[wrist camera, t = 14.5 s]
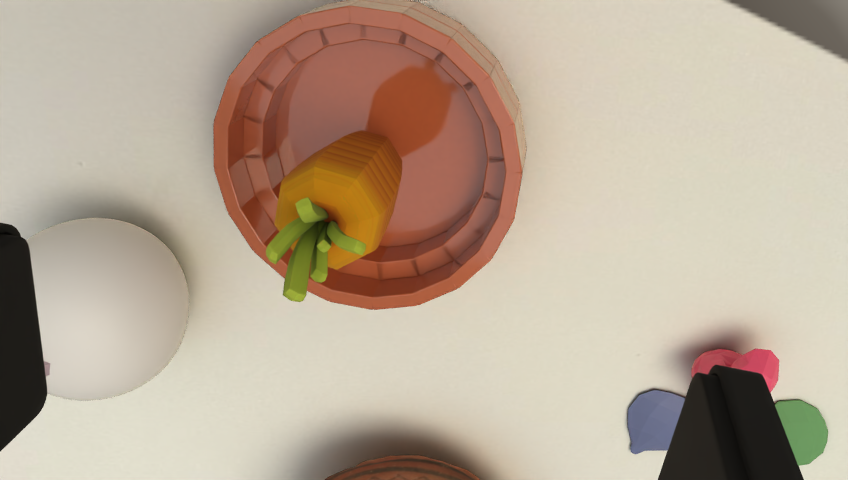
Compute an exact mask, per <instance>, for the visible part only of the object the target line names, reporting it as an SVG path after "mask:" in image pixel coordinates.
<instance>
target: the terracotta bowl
mask: <svg viewBox="0 0 848 480" xmlns="http://www.w3.org/2000/svg"><path fill="white" fill-rule="evenodd" d="M361 130H363V131H367V132H371V133H374V134H378V135H381V136H385V137H388V138H389V140H390V141H391V143H392V144H393V146H394V148H395V149H396V151H397V153H398V154H399V156H400V158H401V159H402V176H401V182H400V186H399V190H398V194H397V198H396V203H395V207H394V211H393V214H392V217H391V219H390V222H389V224H388V227H387V229H386V231H385V233H384V235H383V238H382V240H381V242H380V244H379V246H378V248H377V249H376V250H375V251H373V252H371V253H369V254H367V255H365V256H363V257H361V258H359V259H357V260H355V261H353V262H351V263H349V264H347V265H345V266H343V267H341V268H339V269H333V268H330V267H328V275H327V277H326V280H325V281H324V282H322V283H321V282H315V281H314V280H313V279H312V278H311V277H310V271H311V262H310V270H309V279H308V285H307V291H309V292H311V293H313V294H315V295H317V296H319V297H321V298H323V299H325V300H327V301H330V302H334V303H339V304H344V305H350V306H355V307H360V308H366V309H371V310H373V309H374V310H377V309H388V308H398V307H408V306H416V305H420V304H422V303H425V302H427V301H430V300H432V299H434V298H437V297H439V296H441V295H444V294H446V293H449V292H451V291H453V290H456V289H457V288H460V287H461V286H462V285H463V284H464V283H465V282H466V281H468V280H469V279H470V278H471V277H472V276H473V275H474V274H476V273H477V272H478V271H479V270H480V269H481V268H482V267H484V266H485V265H486V264H487V263H488V262H489V261H490V260H491V259H492V258H493V256H494V254H495V253H496V251H497V249H498V247H499V246H500V244H501V242H502V240H503V239H504V237H505V235H506V233H507V231H508V230H509V228H510V226H511V224H512V223H513V221H514V218H515V212H516V207H517V201H518V195H519V190H520V184H521V179H522V173H523V167H524V161H525V155H526V141H525V134H524V128H523V121H522V115H521V108H520V103H519V100H518V98H517V96H516V94H515V92H514V90H513V88H512V86H511V84H510V83H509V81H508V79H507V77H506V75H505V73H504V71H503V69H502V67H501V65H500V63H499V61H498V60H497V59H496V57H495V56H494V55H493V54H492V53H491V52H490V51H489V50H488V49H487V48H486V47H485V46H484V45H483V44H482V43H481V42H480V41H479V40H478V39H477V38H476V37H475V36H474V35H473V34H472V33H471V32H470V31H469V30H468V29H467V28H466V27H465V26H463V25H462V24H461V23H459V22H457V21H455V20H453V19H451V18H449V17H447V16H445V15H443V14H441V13H439V12H437V11H435V10H433V9H431V8H429V7H427V6H425V5H423V4H421V3H418V2H413V1H406V0H345V1H340V2H335V3H330V4H325V5H323V6H321V7H318V8H316V9H313V10H311V11H309V12H306V13H304V14H301V15H299V16H297V17H295V18H294V19H292V20H290V21H289V22H287V23H286V24H284V25H282V26H281V27H279V28H277V29H276V30H274V31H272V32H271V33H269V34H267V35H266V36H264V37H263V38H261V39H259V41H257V42H256V43H255V44H254V45H253V47H252V48H251V49H250V51H249V52H248V53H247V54H246V56H245V57H244V58H243V59H242V61H241V62H240V63H239V65H238V66H237V67H236V68H235V70H234V71H233V72H232V73H231V75H230V76H229V78H228V80H227V83H226V86H225V89H224V92H223V95H222V98H221V101H220V104H219V107H218V110H217V113H216V116H215V119H214V171H215V174H216V177H217V180H218V183H219V186H220V190H221V193H222V196H223V199H224V202H225V205H226V209H227V211H228V214H229V215H230V217H231V218H232V220H233V221H234V223H235V224H236V226H237V227H238V229H239V230H240V232H241V233H242V235H243V236H244V238H245V239H246V241H247V242H248V244H249V245H250V247H251V248H252V250H253V251H254V252H255V253H256V254H257V255H258V256H259V257H261V258H262V259H263V260H264V261H265V262H266V263H267V264H269V265H270V266H271V267H272V268H273V269H274V270H275V271H277V272H278V273H279V274H280V275H281V276H282V277H283V278H285V276H286V272H287V267H288V263H289V259H290V257H291V255H292V253H293V250H292V249H291V248H289V249H288V250H287V252H286V253H285V254H284V255H283V256H282V258H281V259H280V260H279V261H278V262H277V263H276V264H274V263H272V262H270V261H269V259H268V258H267V256H266V249H267V246H268V245H269V243H270V242H271V241H272V240H273V239H274V237H275V236H276V235H277V234H278V233H279V230H278V229H277V227H276V226H275V224H274V222H275V216H276V210H277V204H278V198H279V192H280V186H281V181H282V180H283V178H284V177H285V176H286V175H288V174H289V173H290V172H291V171H292V170H293V169H294V168H296V167H297V166H298V165H299V164H300V163H302V162H303V161H304V160H306V159H307V158H308V157H310V156H311V155H312V154H314V153H315V152H317V151H319V150H321V149H322V148H324V147H326V146H328V145H329V144H331V143H333V142H334V141H336V140H338V139H340V138H341V137H343V136H345V135H348V134H350V133H353V132H357V131H361Z"/></svg>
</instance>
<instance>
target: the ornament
mask: <svg viewBox="0 0 848 480" xmlns="http://www.w3.org/2000/svg"><path fill="white" fill-rule="evenodd" d="M26 241H27V243H28V245H29V249H30V256H31V264H32V272H33V280H34V288H35V296H36V304H37V311H38V319H39V327H40V335H41V343H42V351H43V359H44V367H45V375H46V383H47V394H50V395H53V396H56V397H60V398H64V399H69V400H79V401H90V400H101V399H107V398H111V397H115V396H119V395H122V394H125V393H127V392H130V391H132V390H134V389H136V388H138V387H140V386H142V385H144V384H145V383H147V382H148V381H150V380H151V379H153V378H154V377H155V376H157V375H158V374H159V373H160V372H161V371H162V370H163V369H164V368H165V367H166V366H167V365H168V363H169V362H170V361H171V360H172V358H173V357H174V355H175V354H176V352H177V350H178V348H179V346H180V344H181V342H182V339H183V337H184V334H185V331H186V327H187V323H188V317H189V292H188V286H187V282H186V279H185V276H184V273H183V271H182V268H181V266H180V264H179V263H178V261H177V259H176V258H175V256H174V255H173V253H172V252H171V251H170V250H169V248H168V247H167V246H166V245H165V244H164V243H163V242H162V241H161V240H159V239H158V238H157V237H156V236H154V235H153V234H151V233H150V232H148V231H146V230H144V229H142V228H140V227H138V226H136V225H133V224H130V223H127V222H124V221H120V220H115V219H107V218H85V219H77V220H72V221H67V222H63V223H60V224H57V225H54V226H51V227H49V228H47V229H44V230H42V231H40V232H38V233H37V234H35V235H33V236H32V237H30V238H29V239H27V240H26Z"/></svg>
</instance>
